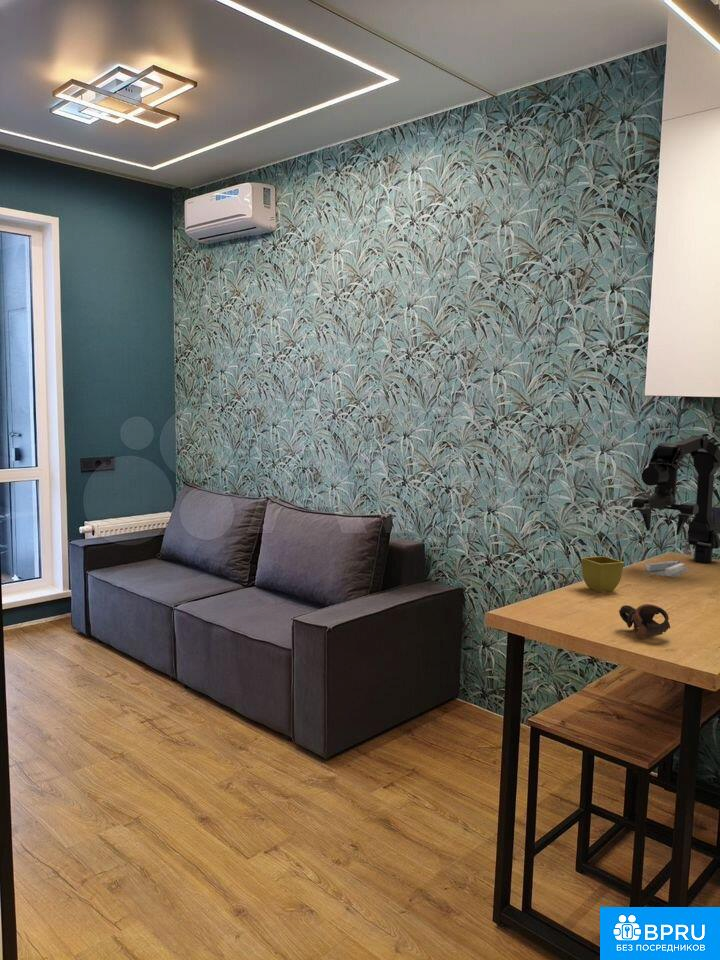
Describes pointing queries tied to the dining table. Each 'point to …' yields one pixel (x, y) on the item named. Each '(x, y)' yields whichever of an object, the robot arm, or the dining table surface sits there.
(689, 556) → the dining table surface
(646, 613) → the dark brown openwork sculpture
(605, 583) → the flower pot
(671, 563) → the tong arm
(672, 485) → the robot arm
